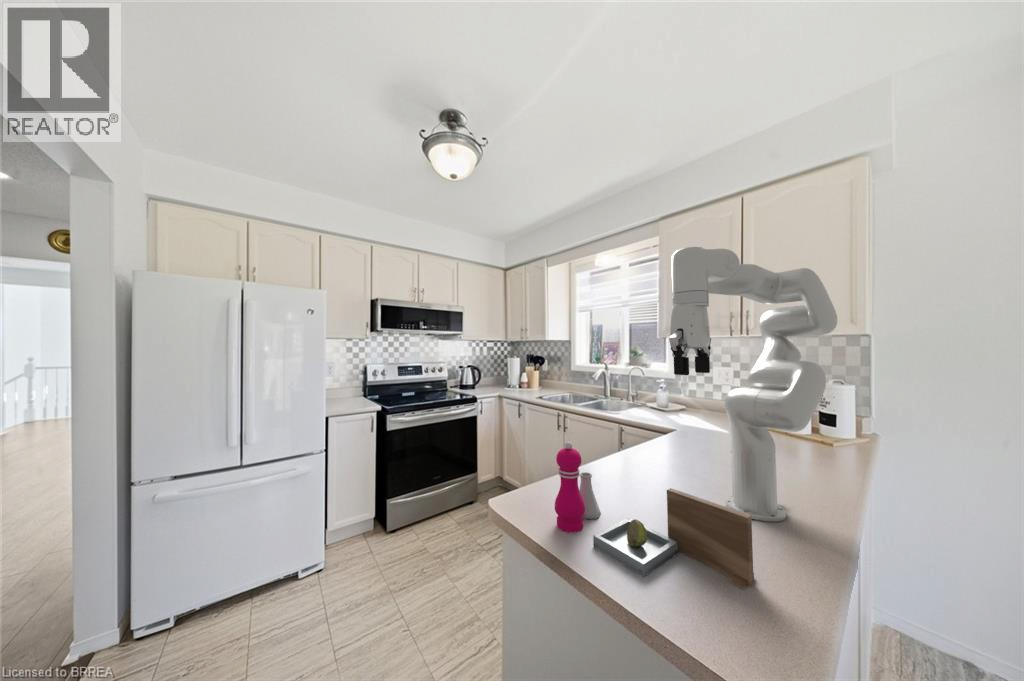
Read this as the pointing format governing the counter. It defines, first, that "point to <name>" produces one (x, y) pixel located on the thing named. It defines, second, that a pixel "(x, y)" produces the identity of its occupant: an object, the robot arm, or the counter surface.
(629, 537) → the lime
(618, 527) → the slate dish
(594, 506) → the flask
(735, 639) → the counter surface
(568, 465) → the pepper mill
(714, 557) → the walnut board
